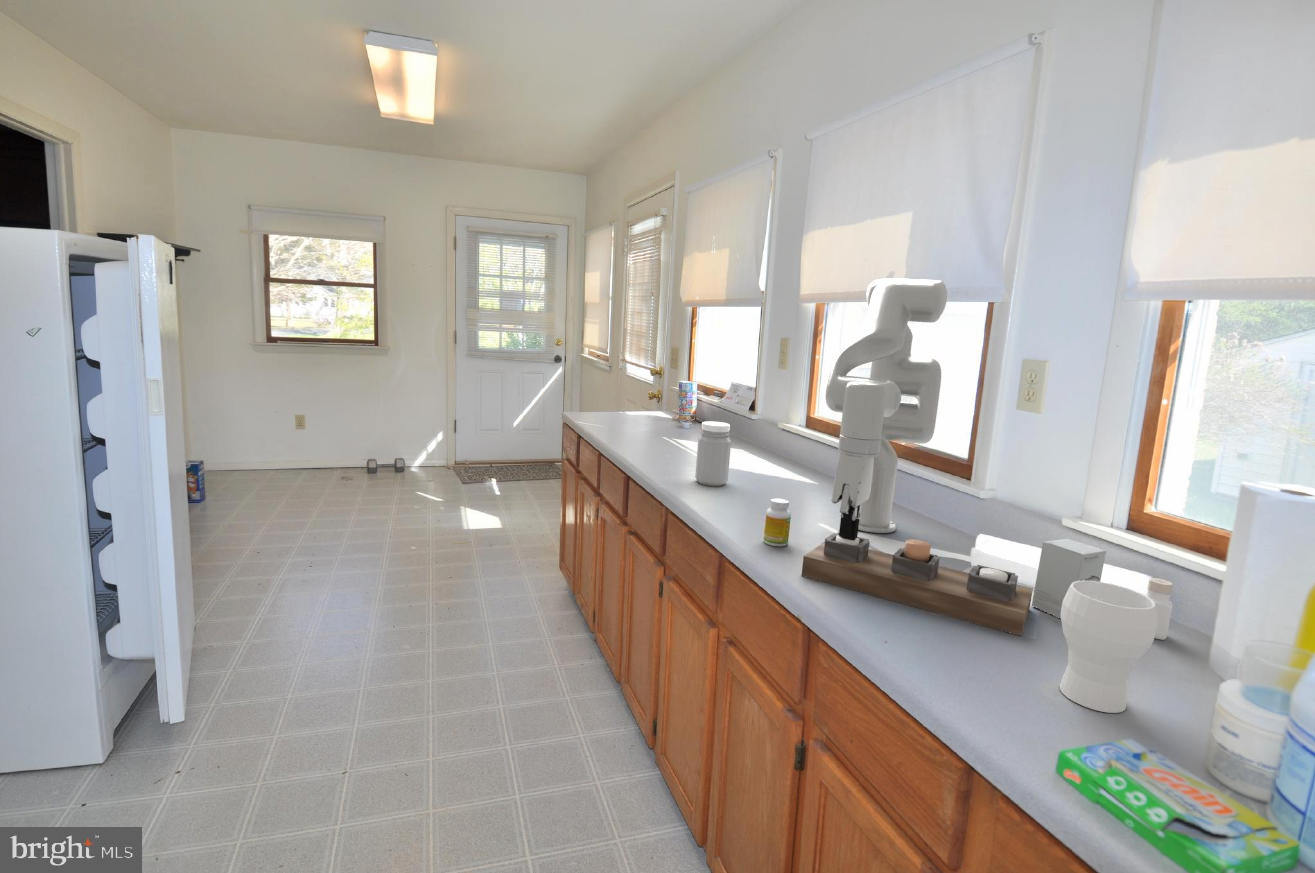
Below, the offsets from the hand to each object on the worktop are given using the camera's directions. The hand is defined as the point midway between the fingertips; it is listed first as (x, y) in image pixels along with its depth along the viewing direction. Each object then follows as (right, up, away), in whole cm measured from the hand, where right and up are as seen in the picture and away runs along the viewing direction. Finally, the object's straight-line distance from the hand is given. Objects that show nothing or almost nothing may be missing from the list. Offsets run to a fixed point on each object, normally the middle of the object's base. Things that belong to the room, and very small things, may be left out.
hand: (847, 537), depth 132 cm
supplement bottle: (-11, -4, +18) cm, 21 cm away
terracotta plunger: (+11, -3, -7) cm, 13 cm away
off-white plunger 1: (0, -3, +1) cm, 3 cm away
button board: (+10, -9, -6) cm, 15 cm away
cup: (+22, -16, -39) cm, 48 cm away
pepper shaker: (+46, -14, -17) cm, 52 cm away
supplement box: (+36, -12, -10) cm, 39 cm away
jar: (-21, +6, +70) cm, 73 cm away
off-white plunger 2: (+21, -7, -13) cm, 26 cm away
